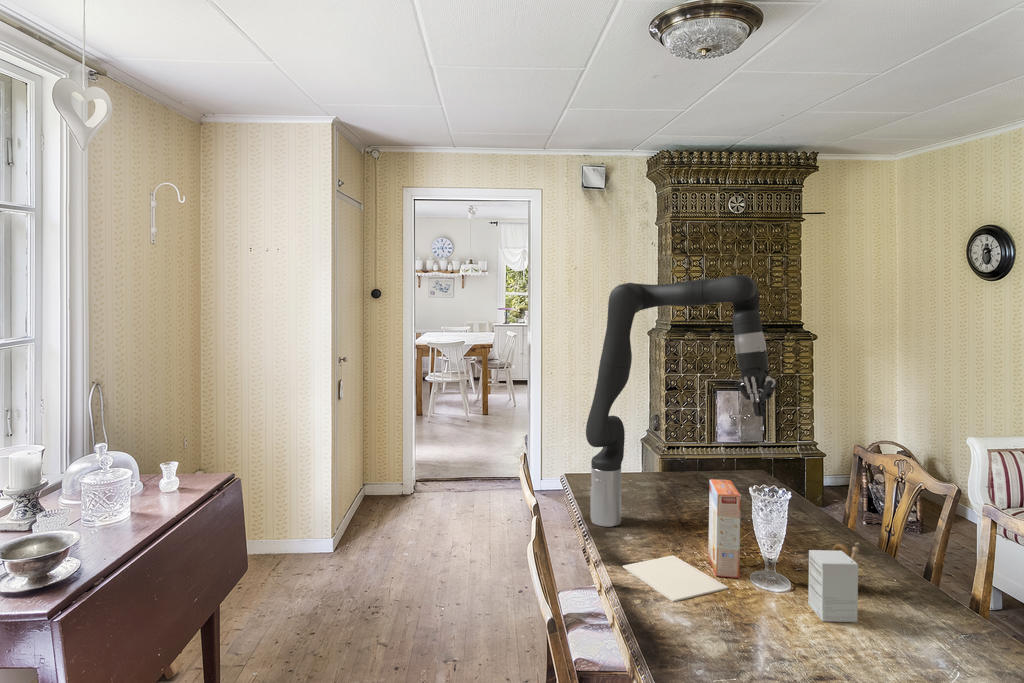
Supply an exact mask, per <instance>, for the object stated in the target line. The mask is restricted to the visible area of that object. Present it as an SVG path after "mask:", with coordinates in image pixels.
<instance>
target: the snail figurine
mask: <svg viewBox="0 0 1024 683" xmlns="http://www.w3.org/2000/svg"><path fill="white" fill-rule="evenodd" d="M859 545H860V542H855V546H853V547H852V548H851V550H850V549H849V547H847V545H845V544H843V543H840V542H839V543H835V544H834V545H833V547H832V551H843V552H844V553H845V554H846V555H848V556H849V557H850V558H851V559H852V560H854V561H855V562H856V563H857V558H858V553H859V551H860V550H859ZM851 551H852V552H851Z"/></svg>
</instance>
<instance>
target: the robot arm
mask: <svg viewBox="0 0 1024 683" xmlns="http://www.w3.org/2000/svg"><path fill="white" fill-rule="evenodd" d="M717 303H719V304H721V303H732V309H733V314H732V318H731V320H732V329H733V335H734V350H735V356H736V361H737V363H736V364H737V368H738V370H740V371H741V372H740V379H739V380H738V381H735V383H734V385H735V387H736V388H737V389H738V390H739V392H740V394H742V396H743V397H744V399H745V400H747V401H750V402H751V403H752V408H753V413H754V415H755V417H760V418H761V417H765V416H766V415H767V408H766V401H767V400H771V398H772V397H773V394H774V392H775V389H776V387H777V385H778V383H779V382H778V379H774V378H772V377H771V376H770V373H769V372H770V371H768V367H769V366H770V365H769V364H770V362H769V357H768V351H767V344H766V339H765V336H764V332H763V324H762V320H761V315H760V294H759V288H758V283H757V282H756V281H755V279H753V278H752V277H750V276H747V275H743V274H736V275H730V276H729V275H728V276H724V277H718V278H706V279H705V278H704V279H703V278H702V279H693V280H686V281H679V282H672V283H666V284H664V283H662V284H645V283H635V282H626V283H621V284H618V285H617V286H615V287H614V288H613V289H612V290H611V291H610V295H609V297H608V302H607V319H606V320H607V321H606V330H605V334H604V335H605V336H604V339H603V344H602V345H603V346H602V351H601V354H600V355H601V356H600V360H599V366H598V373H597V379H596V385H595V388H594V389H595V391H594V396H593V399H592V404H591V407H590V410H589V414H588V417H587V420H586V426H585V437H586V438H585V439H586V441H587V442H588V444H589V446H591V447H593V448H602V449H601V450H600V451H599V452H598V453H597V454H596V455H594V456H592V458H591V462H590V463H591V465H590V466H591V468H590V469H591V470H590V472H591V475H590V476H591V477H590V478H591V479H590V480H591V488H590V490H589V493H590V494H589V497H590V500H589V502H590V503H589V507H590V509H589V510H590V511H589V512H590V513H589V514H590V516H589V517H590V518H589V519H590V520H591V522H592V524H593V525H596V526H598V527H599V526H600V527H608V528H609V527H614V526H619V525H621V523H622V462H623V461H624V456H625V455H624V454H625V453H624V452H625V440H626V439H625V434H626V433H625V425H624V422H623V421H622V419H621V418H620V417H619V416H616V415H610V411H611V408H612V406H613V404H614V402H615V401H616V399H617V398H618V397H619V395H620V394H621V393H622V392H623V390H624V388H625V387H626V385H627V383H628V381H629V378H630V375H631V374H630V373H631V369H632V360H633V355H632V344H631V330H632V326H633V323H634V318H635V316H636V314H637V313H639V312H640V311H644V310H648V309H651V308H655V307H664V306H665V307H667V306H674V307H675V306H677V307H697V306H709V305H715V304H717Z"/></svg>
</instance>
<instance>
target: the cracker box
mask: <svg viewBox="0 0 1024 683" xmlns="http://www.w3.org/2000/svg"><path fill="white" fill-rule="evenodd" d="M708 484H709V498H708V501H709V503H708V507H709V508H708V550H707V551H708V552H707V554H708V558H709V560H710V561H709V562H710V564H711V567H712V569H713V571H714V572H713V573H714V575H715V576H716V577H722V578H732V579H733V578H735V579H740V551H741V549H740V548H741V547H740V545H741V543H740V542H741V504H742V502H741V501H742V500H741V499H742V495H741V494H740V492H739V491H738V489H737V487H736V485H734V483H733V481H732V480H729V479H712V478H711V479H709V483H708Z"/></svg>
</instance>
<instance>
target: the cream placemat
mask: <svg viewBox="0 0 1024 683" xmlns="http://www.w3.org/2000/svg"><path fill="white" fill-rule="evenodd" d="M622 568H624V570H626V571H627V572H628V573H630V574H632V575H633V576H635V577H636V578H637V579H639V580H641V581H642V582H643V583H645V584H646V585H648V586H649V587H651V588H652V589H653V590H655V591H656V592H658V593H659V594H661V595H662V596H664V597H665V598H667V599H668V600H669V601H671V602H673V603H675V602H678V601H682V600H686V599H687V600H688V599H690V598H695V597H698V596H703V595H707V594H711V593H715V592H716V593H717V592H719V591H724V590H729V586H727V585H725V584H724V583H722V582H720V581H719V580H716V579H715V578H713V577H712V576H710V575H708V574H706V573H705V572H703V571H701V570H700V569H697V568H696V567H694V566H692V565H691V564H689V563H687V562H685V561H684V560H682V559H680V558H678V557H677V556H675V555H669V556H663V557H659V558H654V559H653V558H652V559H649V560H644V561H639V562H634V563H633V562H632V563H629V564H625V565H622Z"/></svg>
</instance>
